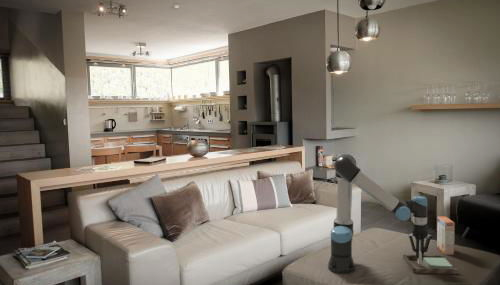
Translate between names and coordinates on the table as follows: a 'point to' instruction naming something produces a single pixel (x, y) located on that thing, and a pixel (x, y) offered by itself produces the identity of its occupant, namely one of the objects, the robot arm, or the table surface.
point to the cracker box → (445, 235)
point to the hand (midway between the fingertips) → (419, 263)
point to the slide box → (422, 268)
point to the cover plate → (437, 263)
